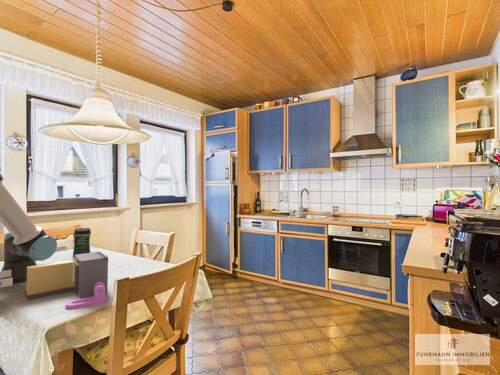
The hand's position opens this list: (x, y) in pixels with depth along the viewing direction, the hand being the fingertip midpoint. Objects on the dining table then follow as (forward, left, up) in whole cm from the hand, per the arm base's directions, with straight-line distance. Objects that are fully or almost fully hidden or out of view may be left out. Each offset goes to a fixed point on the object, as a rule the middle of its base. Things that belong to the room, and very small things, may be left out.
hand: (12, 277), depth 107 cm
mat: (0, +14, -9) cm, 16 cm away
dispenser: (+10, +26, -9) cm, 29 cm away
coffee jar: (-59, +36, -9) cm, 69 cm away
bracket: (+24, +21, -9) cm, 33 cm away
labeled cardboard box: (0, +13, -8) cm, 15 cm away
